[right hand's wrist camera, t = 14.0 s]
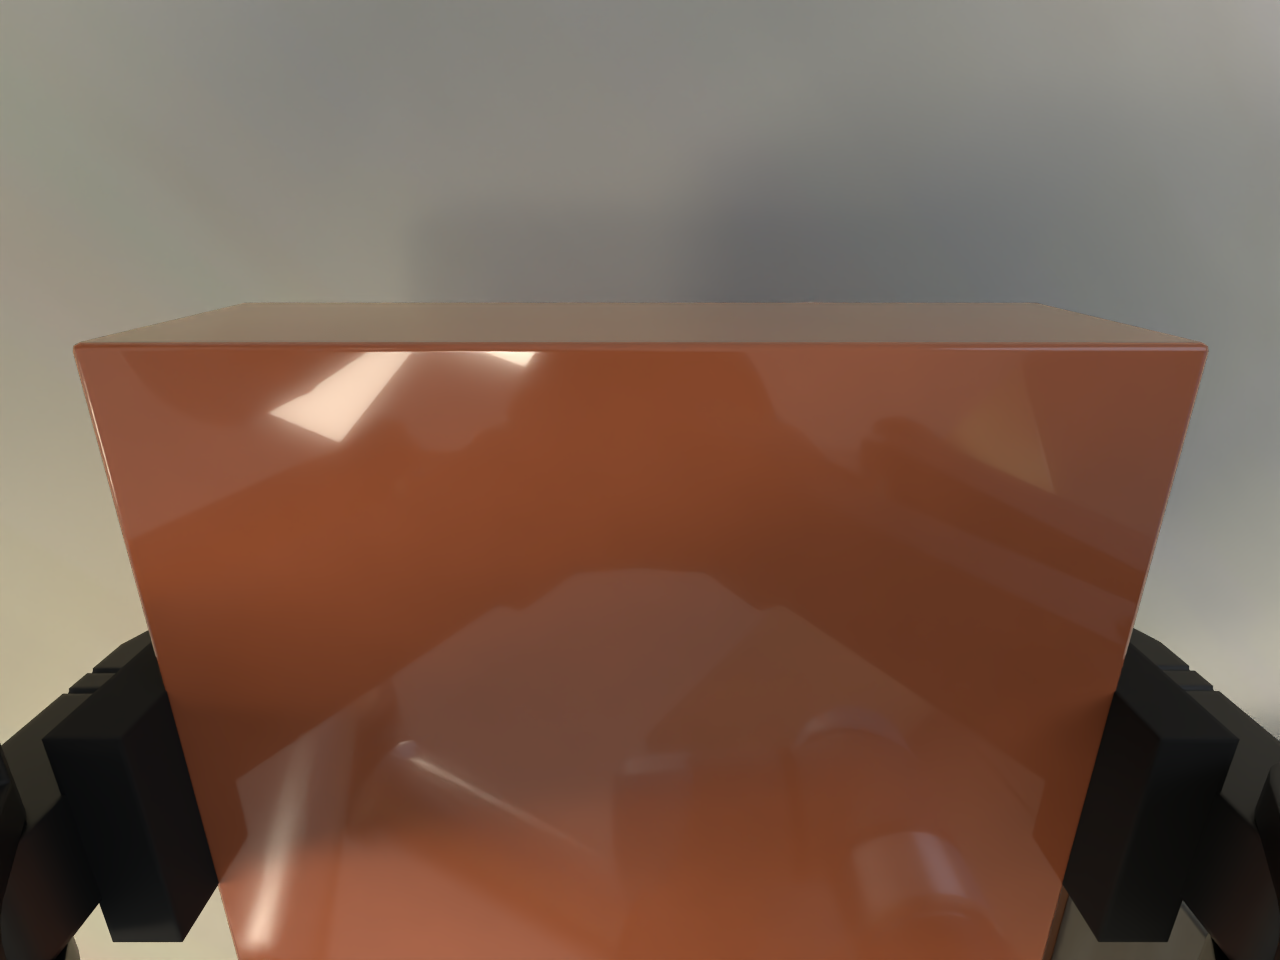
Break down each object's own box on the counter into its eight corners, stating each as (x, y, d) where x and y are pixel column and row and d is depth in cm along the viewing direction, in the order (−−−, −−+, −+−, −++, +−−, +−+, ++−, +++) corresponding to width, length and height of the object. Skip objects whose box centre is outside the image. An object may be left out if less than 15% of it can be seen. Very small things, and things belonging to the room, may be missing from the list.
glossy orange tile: (375, 835, 14) (269, 1087, 10) (286, 291, 10) (65, 343, 6) (904, 835, 14) (1010, 1086, 10) (995, 292, 10) (1215, 343, 6)
